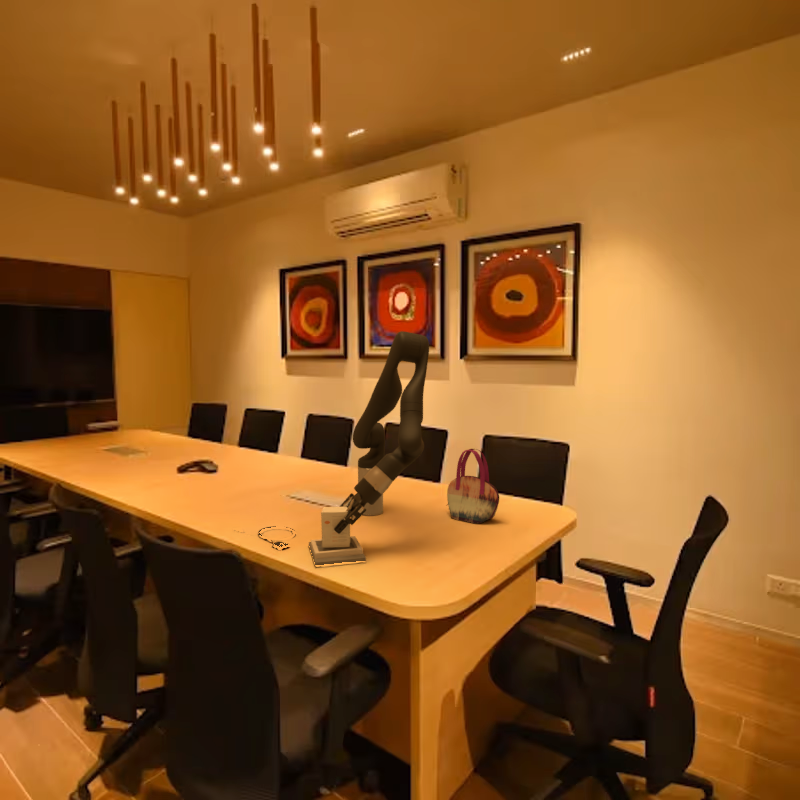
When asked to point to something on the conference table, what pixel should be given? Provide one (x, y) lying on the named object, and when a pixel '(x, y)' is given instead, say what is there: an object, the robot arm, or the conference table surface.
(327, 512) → the small box
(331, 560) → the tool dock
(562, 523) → the conference table surface
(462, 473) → the handbag
